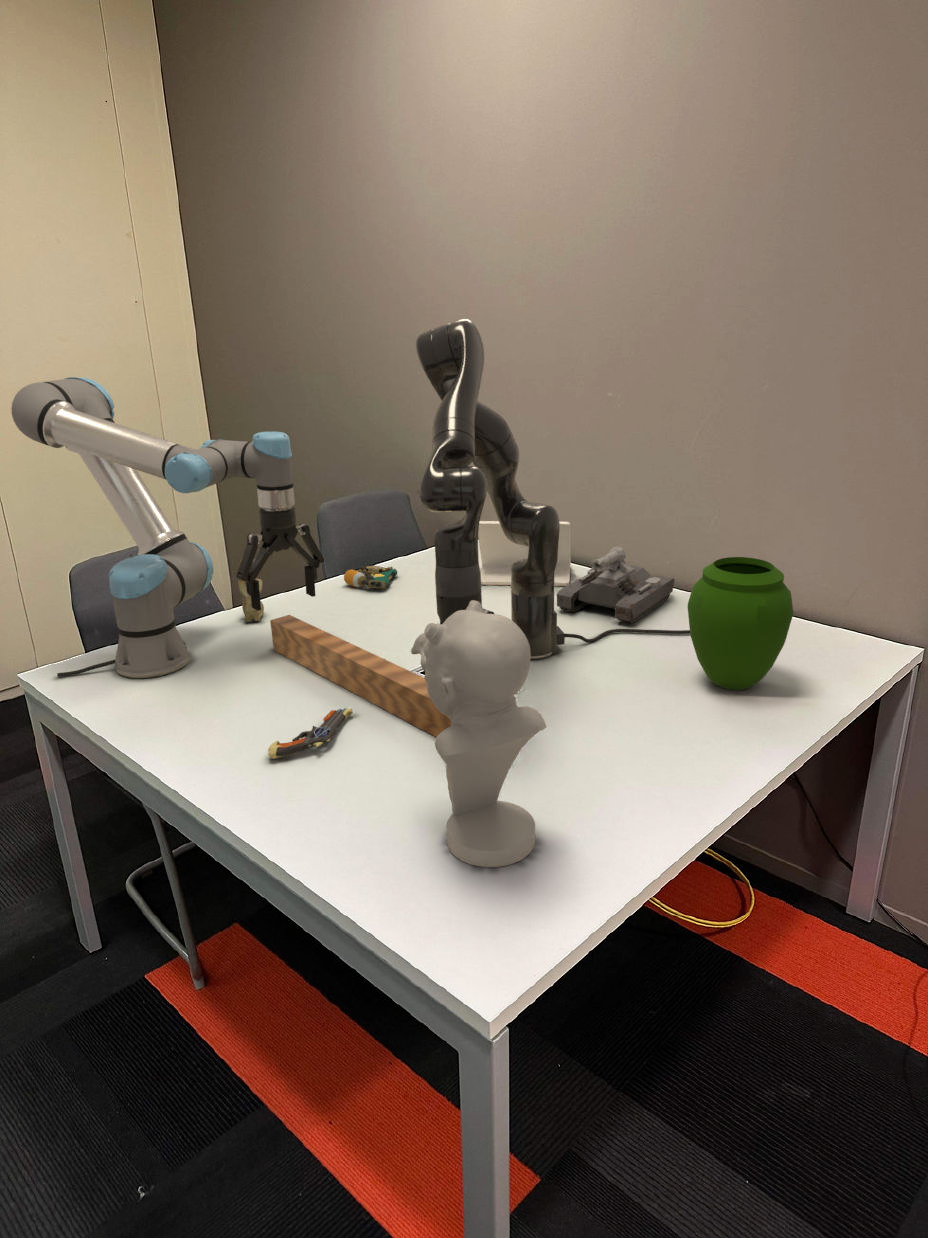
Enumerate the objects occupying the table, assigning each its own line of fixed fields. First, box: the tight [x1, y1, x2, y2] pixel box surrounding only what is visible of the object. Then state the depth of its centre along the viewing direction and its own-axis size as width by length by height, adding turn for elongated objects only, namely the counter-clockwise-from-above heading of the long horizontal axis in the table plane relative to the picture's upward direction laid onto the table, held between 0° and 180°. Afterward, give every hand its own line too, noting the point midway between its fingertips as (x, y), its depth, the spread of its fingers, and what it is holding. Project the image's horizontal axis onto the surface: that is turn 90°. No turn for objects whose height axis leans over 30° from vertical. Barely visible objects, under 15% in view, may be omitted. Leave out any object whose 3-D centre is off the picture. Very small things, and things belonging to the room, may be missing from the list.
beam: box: [269, 614, 451, 738], centre depth 170 cm, size 66×5×7 cm, turn 42°
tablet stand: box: [478, 520, 572, 587], centre depth 236 cm, size 18×25×17 cm
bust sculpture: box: [410, 600, 547, 868], centre depth 121 cm, size 16×24×35 cm
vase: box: [687, 556, 794, 691], centre depth 166 cm, size 20×20×24 cm
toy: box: [556, 546, 676, 624], centre depth 212 cm, size 25×20×15 cm
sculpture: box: [237, 557, 265, 623], centre depth 209 cm, size 6×7×15 cm
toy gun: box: [267, 707, 354, 760], centre depth 153 cm, size 3×19×10 cm
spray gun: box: [343, 565, 398, 589], centre depth 236 cm, size 4×17×15 cm
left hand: (284, 601), depth 188 cm, fingers open, 13 cm apart
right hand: (462, 676), depth 147 cm, fingers open, 8 cm apart
